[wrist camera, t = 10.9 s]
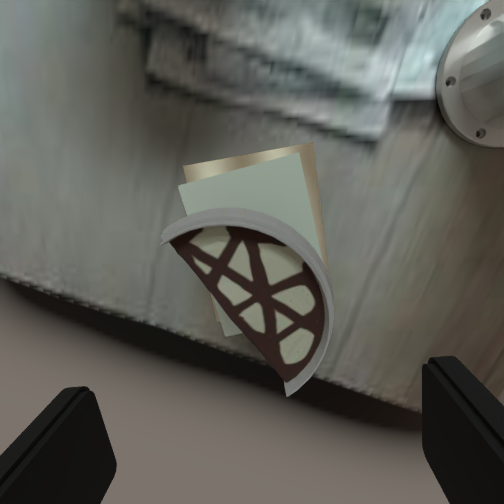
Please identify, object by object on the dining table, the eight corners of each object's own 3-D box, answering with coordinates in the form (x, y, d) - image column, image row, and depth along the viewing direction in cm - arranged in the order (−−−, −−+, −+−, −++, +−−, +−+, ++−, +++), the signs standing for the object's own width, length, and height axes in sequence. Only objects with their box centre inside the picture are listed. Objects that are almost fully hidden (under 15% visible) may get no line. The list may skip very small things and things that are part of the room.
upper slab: (294, 155, 28) (299, 152, 24) (325, 295, 31) (333, 313, 27) (189, 183, 29) (177, 185, 25) (230, 316, 32) (225, 336, 28)
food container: (340, 283, 26) (385, 349, 17) (282, 320, 27) (292, 403, 18) (255, 163, 24) (249, 159, 14) (194, 210, 25) (152, 236, 15)
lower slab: (307, 145, 31) (313, 142, 27) (325, 291, 35) (332, 306, 31) (193, 166, 32) (182, 166, 28) (222, 305, 36) (216, 321, 32)
